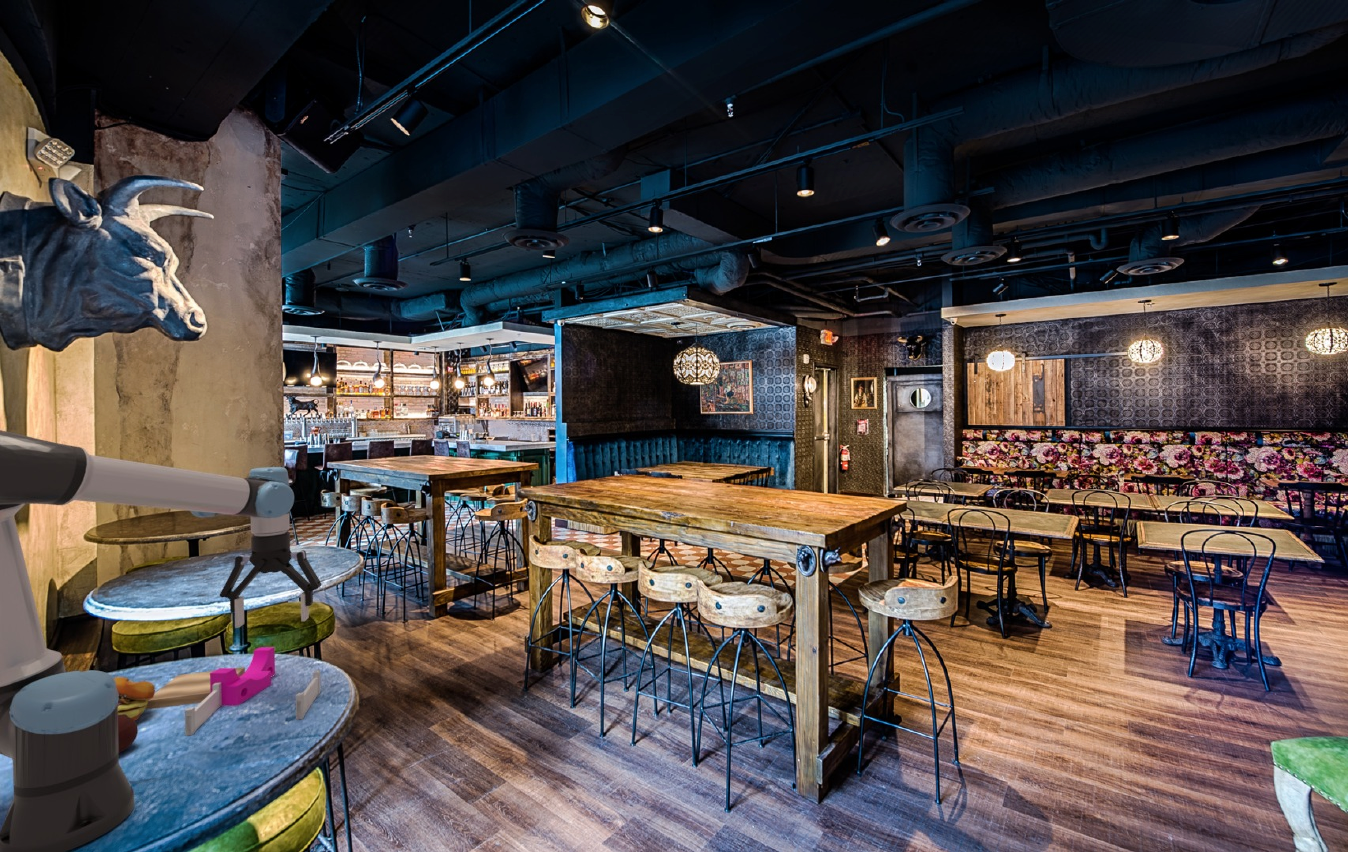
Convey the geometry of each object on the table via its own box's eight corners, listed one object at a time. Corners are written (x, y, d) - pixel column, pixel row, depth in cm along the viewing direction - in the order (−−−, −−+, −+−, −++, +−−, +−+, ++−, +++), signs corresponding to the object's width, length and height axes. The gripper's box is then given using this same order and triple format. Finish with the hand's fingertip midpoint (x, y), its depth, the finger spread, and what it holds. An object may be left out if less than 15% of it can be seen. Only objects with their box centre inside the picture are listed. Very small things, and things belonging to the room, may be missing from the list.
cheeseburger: (62, 726, 119) (86, 674, 122) (123, 724, 128) (144, 675, 131) (89, 733, 115) (113, 678, 119) (150, 730, 124) (170, 680, 128)
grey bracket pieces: (302, 718, 124) (301, 694, 124) (185, 735, 118) (184, 710, 118) (320, 691, 136) (320, 669, 136) (215, 705, 130) (214, 683, 130)
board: (219, 700, 133) (218, 691, 133) (145, 709, 129) (144, 700, 129) (244, 674, 146) (244, 666, 146) (178, 682, 142) (178, 674, 142)
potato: (87, 769, 107) (86, 731, 106) (83, 754, 112) (82, 718, 112) (141, 751, 112) (140, 715, 112) (135, 737, 117) (134, 703, 117)
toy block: (237, 706, 130) (236, 673, 130) (210, 706, 131) (210, 673, 130) (284, 676, 145) (284, 647, 145) (260, 676, 146) (260, 647, 145)
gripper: (334, 526, 143) (336, 611, 143) (216, 533, 136) (219, 622, 136) (324, 532, 135) (326, 622, 136) (200, 539, 129) (202, 634, 129)
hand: (272, 622), depth 136 cm, fingers open, 13 cm apart
